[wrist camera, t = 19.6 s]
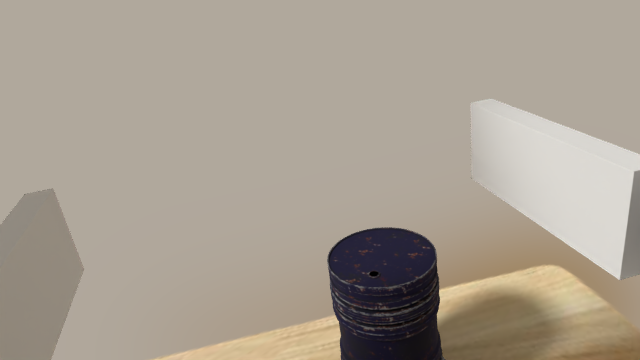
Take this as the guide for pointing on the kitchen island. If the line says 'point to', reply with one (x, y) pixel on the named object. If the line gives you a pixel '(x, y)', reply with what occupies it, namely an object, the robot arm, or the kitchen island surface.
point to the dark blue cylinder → (386, 295)
